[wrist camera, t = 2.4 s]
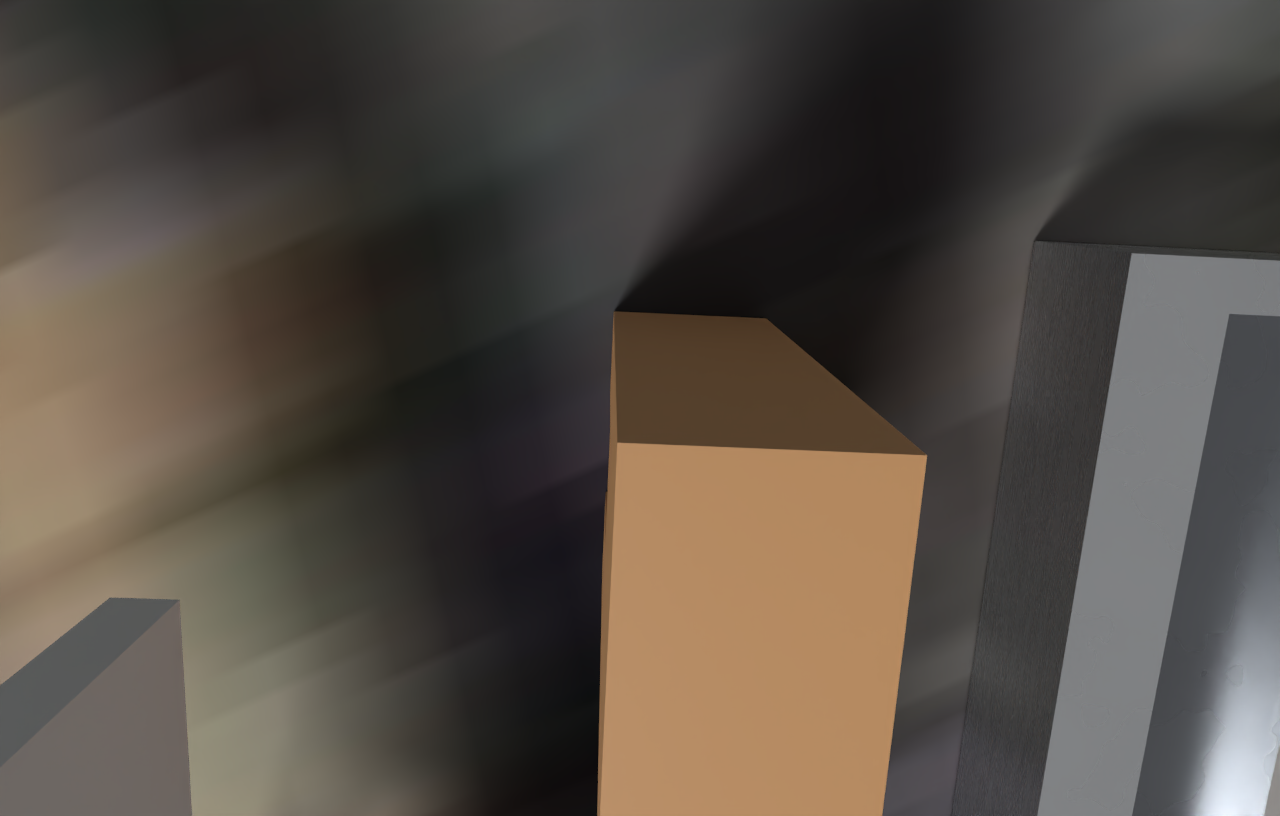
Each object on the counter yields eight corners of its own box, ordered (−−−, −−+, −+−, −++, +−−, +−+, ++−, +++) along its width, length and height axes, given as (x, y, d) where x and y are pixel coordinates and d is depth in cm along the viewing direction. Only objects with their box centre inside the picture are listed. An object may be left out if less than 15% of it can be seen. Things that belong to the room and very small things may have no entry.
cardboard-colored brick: (613, 311, 21) (617, 443, 10) (766, 318, 21) (927, 455, 10) (602, 564, 22) (595, 914, 12) (745, 569, 22) (869, 919, 12)
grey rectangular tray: (1033, 240, 21) (1131, 253, 17) (1426, 260, 21) (1610, 277, 17) (925, 993, 25) (982, 1139, 21) (1250, 998, 26) (1364, 1143, 22)
